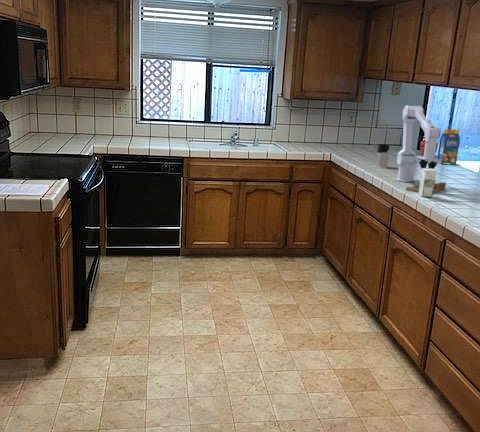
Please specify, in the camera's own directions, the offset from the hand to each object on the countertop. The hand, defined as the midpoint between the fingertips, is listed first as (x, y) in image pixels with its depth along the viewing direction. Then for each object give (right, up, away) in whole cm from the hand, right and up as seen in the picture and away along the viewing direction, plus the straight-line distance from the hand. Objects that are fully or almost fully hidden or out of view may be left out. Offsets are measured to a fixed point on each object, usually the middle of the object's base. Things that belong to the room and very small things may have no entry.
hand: (426, 174), depth 286 cm
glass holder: (-9, +11, +68) cm, 69 cm away
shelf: (0, -8, +2) cm, 8 cm away
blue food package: (+49, +15, +94) cm, 107 cm away
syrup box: (-6, -13, -14) cm, 19 cm away
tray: (0, -7, +2) cm, 7 cm away
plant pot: (+45, +24, +124) cm, 134 cm away
